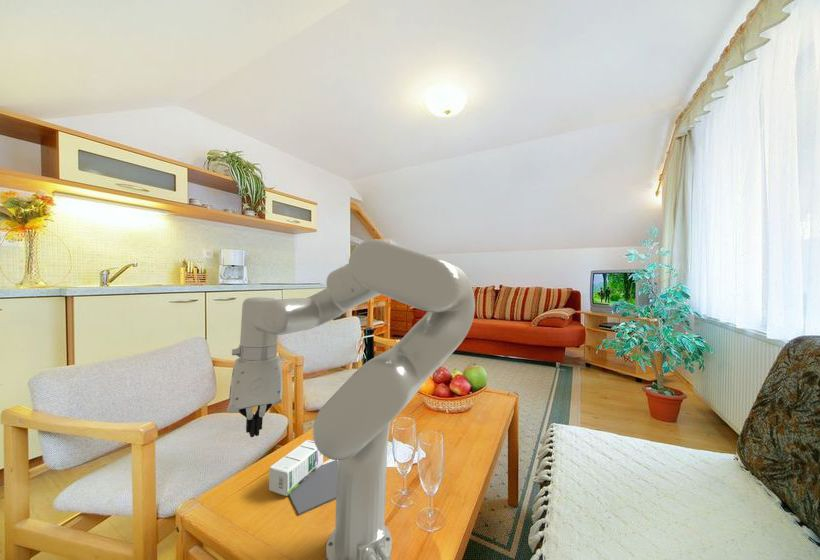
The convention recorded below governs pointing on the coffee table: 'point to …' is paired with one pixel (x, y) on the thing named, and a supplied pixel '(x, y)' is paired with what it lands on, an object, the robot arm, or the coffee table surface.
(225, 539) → the coffee table surface
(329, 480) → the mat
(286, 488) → the syrup box
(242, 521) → the coffee table surface
